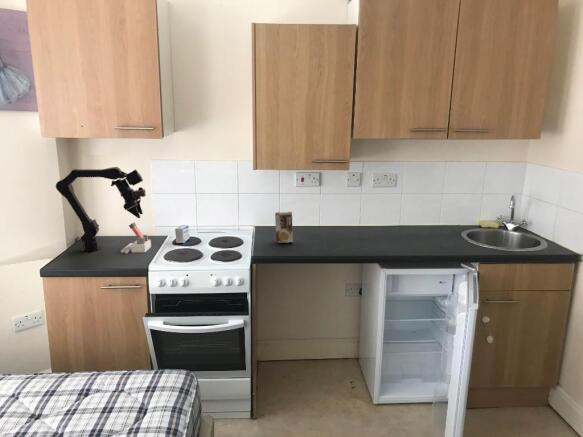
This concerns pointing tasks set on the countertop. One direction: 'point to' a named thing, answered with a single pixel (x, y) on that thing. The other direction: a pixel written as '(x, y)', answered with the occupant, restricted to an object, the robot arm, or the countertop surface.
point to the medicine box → (182, 234)
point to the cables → (126, 249)
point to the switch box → (141, 244)
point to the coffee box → (284, 227)
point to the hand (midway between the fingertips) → (140, 216)
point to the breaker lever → (136, 230)
